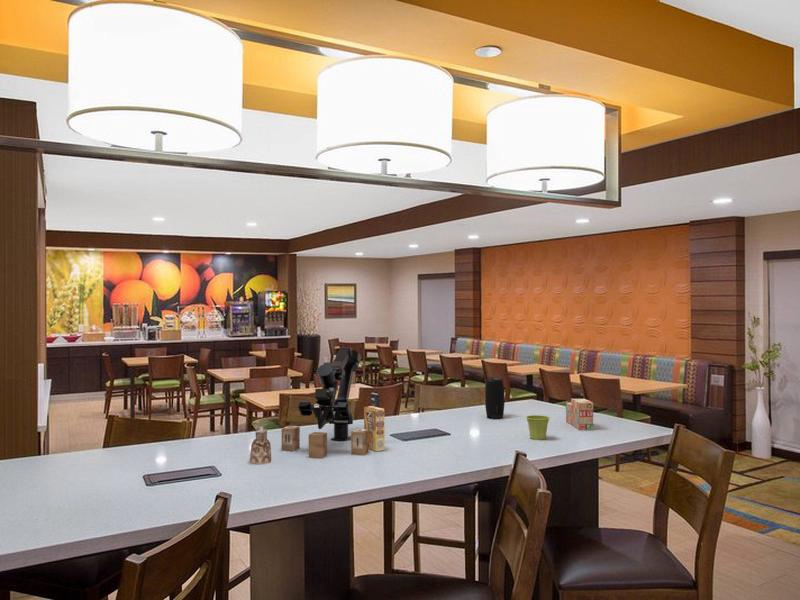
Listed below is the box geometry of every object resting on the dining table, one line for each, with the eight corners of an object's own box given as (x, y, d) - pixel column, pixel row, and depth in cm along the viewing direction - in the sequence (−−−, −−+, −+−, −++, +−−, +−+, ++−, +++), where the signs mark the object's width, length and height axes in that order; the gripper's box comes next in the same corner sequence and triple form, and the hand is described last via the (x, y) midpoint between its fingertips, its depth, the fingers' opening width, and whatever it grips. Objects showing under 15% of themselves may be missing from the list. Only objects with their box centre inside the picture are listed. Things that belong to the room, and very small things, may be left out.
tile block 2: (355, 451, 218) (355, 428, 218) (368, 452, 217) (368, 429, 217) (350, 454, 213) (350, 431, 213) (364, 455, 211) (364, 431, 212)
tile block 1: (287, 447, 224) (287, 425, 224) (299, 448, 223) (299, 425, 223) (281, 450, 219) (281, 427, 219) (293, 451, 218) (293, 428, 218)
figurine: (249, 464, 198) (250, 428, 198) (249, 459, 205) (249, 424, 205) (271, 463, 200) (272, 427, 200) (270, 458, 207) (270, 423, 207)
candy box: (385, 450, 219) (385, 408, 220) (375, 451, 217) (375, 409, 217) (373, 446, 227) (373, 405, 227) (363, 447, 224) (363, 406, 225)
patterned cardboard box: (565, 422, 279) (565, 395, 279) (579, 422, 279) (578, 395, 279) (579, 430, 258) (579, 402, 258) (593, 430, 258) (593, 402, 258)
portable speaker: (487, 416, 295) (487, 376, 295) (506, 417, 292) (505, 377, 292) (483, 418, 287) (483, 378, 287) (503, 420, 284) (503, 378, 284)
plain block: (314, 454, 213) (314, 431, 213) (327, 455, 212) (327, 432, 212) (308, 457, 208) (308, 434, 208) (321, 458, 207) (321, 435, 207)
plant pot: (548, 441, 235) (548, 419, 235) (524, 440, 238) (524, 418, 238) (550, 437, 244) (550, 415, 244) (527, 435, 247) (527, 414, 247)
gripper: (299, 379, 219) (288, 414, 208) (348, 380, 216) (340, 416, 205) (306, 397, 227) (296, 432, 216) (354, 398, 224) (346, 434, 213)
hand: (319, 428), depth 212 cm, fingers closed
